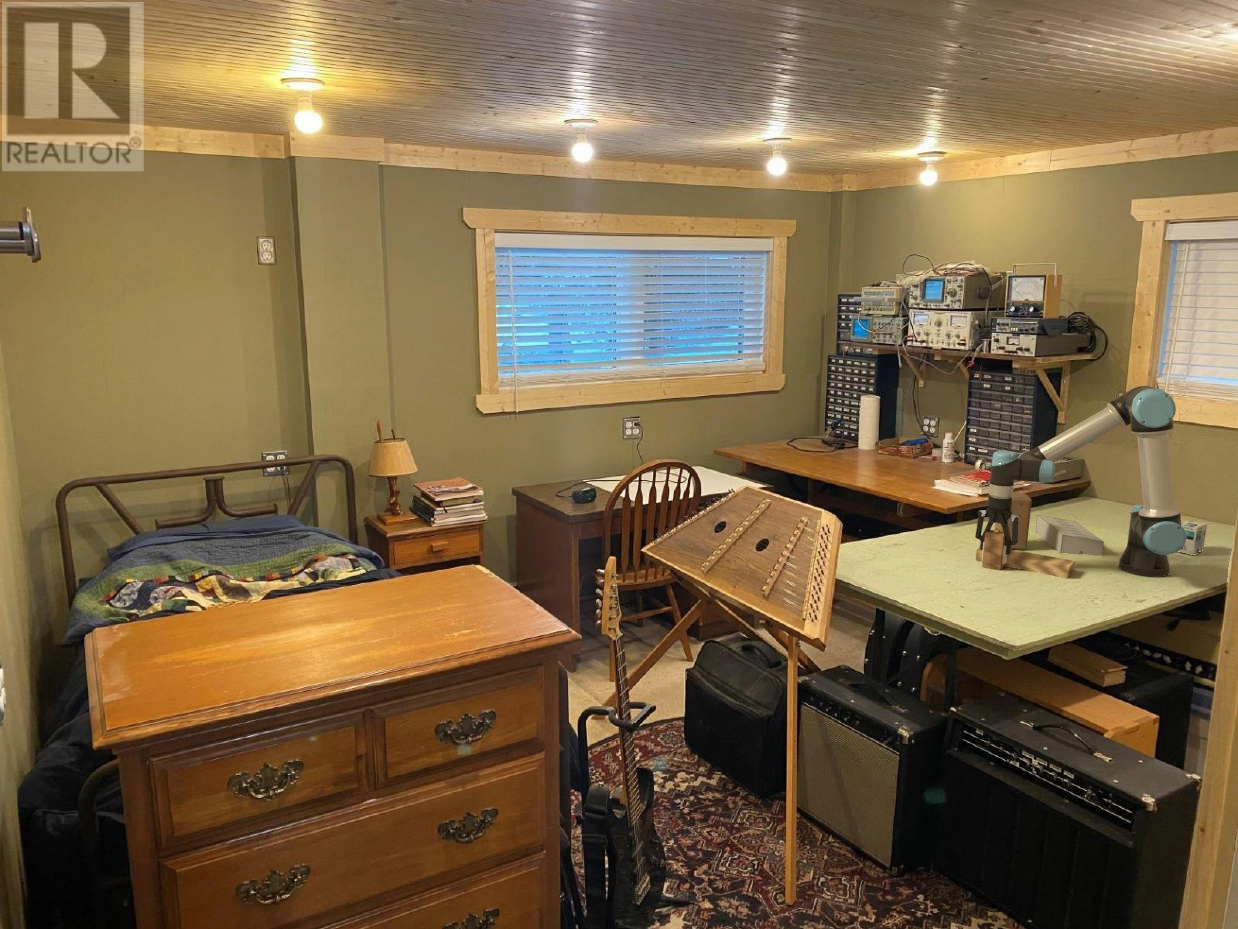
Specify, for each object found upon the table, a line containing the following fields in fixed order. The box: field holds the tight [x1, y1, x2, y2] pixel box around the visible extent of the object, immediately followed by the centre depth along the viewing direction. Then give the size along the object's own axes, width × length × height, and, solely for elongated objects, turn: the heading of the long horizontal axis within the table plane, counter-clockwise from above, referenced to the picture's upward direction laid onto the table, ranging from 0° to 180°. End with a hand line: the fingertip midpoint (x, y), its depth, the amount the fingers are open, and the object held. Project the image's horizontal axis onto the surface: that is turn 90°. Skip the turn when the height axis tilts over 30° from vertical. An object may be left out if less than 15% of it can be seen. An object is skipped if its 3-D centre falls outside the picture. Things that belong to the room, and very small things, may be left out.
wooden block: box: [994, 492, 1033, 551], centre depth 328 cm, size 10×10×20 cm
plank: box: [975, 547, 1076, 579], centre depth 305 cm, size 30×9×4 cm, turn 51°
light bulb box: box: [1179, 519, 1208, 556], centre depth 325 cm, size 11×7×11 cm, turn 129°
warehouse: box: [1035, 514, 1105, 556], centre depth 334 cm, size 30×14×8 cm, turn 171°
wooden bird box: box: [981, 528, 1006, 571], centre depth 306 cm, size 6×15×13 cm, turn 141°
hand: (994, 561), depth 304 cm, fingers closed on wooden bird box, 6 cm apart
